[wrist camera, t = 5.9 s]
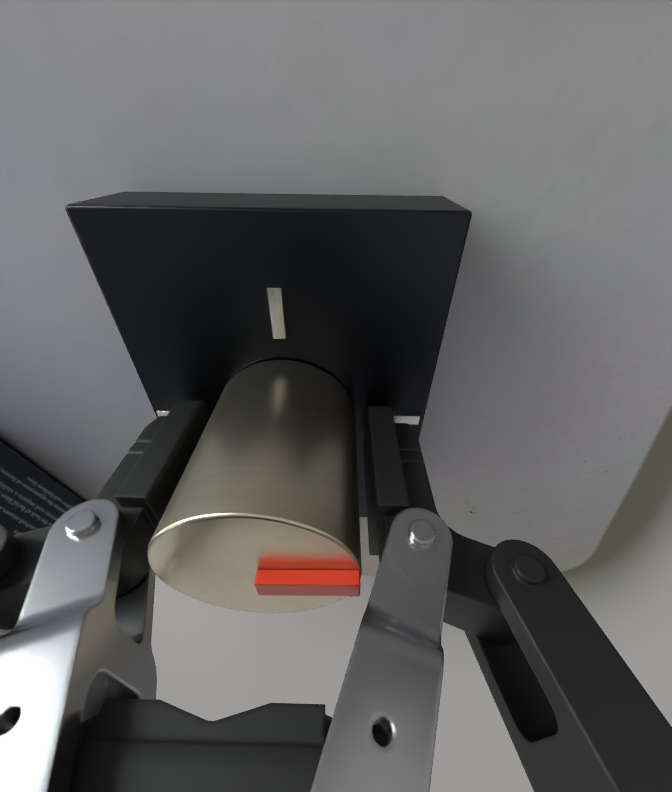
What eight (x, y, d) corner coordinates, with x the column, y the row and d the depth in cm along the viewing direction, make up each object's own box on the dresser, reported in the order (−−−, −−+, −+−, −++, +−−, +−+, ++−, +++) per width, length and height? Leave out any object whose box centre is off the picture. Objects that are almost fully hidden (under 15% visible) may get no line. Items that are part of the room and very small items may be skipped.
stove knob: (236, 460, 12) (181, 626, 8) (204, 359, 9) (94, 532, 5) (354, 459, 12) (360, 629, 8) (355, 357, 9) (365, 533, 5)
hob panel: (123, 191, 9) (56, 206, 7) (445, 196, 9) (476, 212, 7) (216, 469, 16) (197, 516, 14) (393, 473, 16) (400, 521, 14)
